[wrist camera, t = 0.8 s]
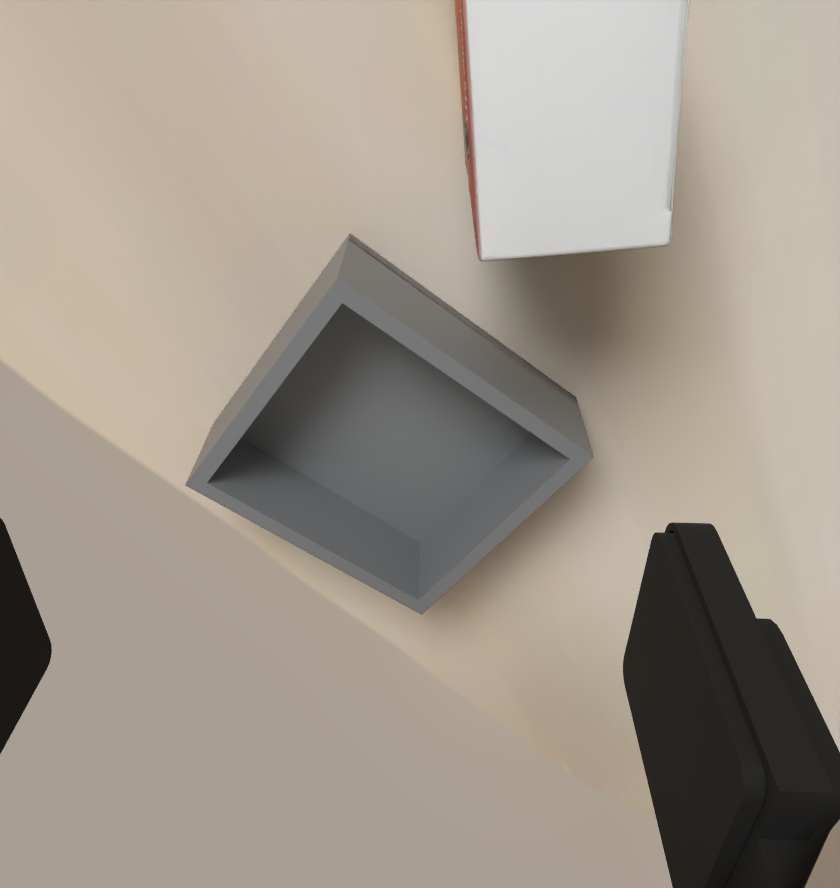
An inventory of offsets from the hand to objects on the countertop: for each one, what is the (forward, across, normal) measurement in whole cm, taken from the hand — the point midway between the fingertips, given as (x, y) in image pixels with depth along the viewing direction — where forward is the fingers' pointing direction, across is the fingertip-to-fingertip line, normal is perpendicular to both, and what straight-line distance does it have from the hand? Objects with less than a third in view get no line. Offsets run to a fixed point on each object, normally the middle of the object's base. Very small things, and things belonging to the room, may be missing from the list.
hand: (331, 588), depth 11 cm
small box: (+24, -5, -4) cm, 24 cm away
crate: (+23, +1, +11) cm, 26 cm away
